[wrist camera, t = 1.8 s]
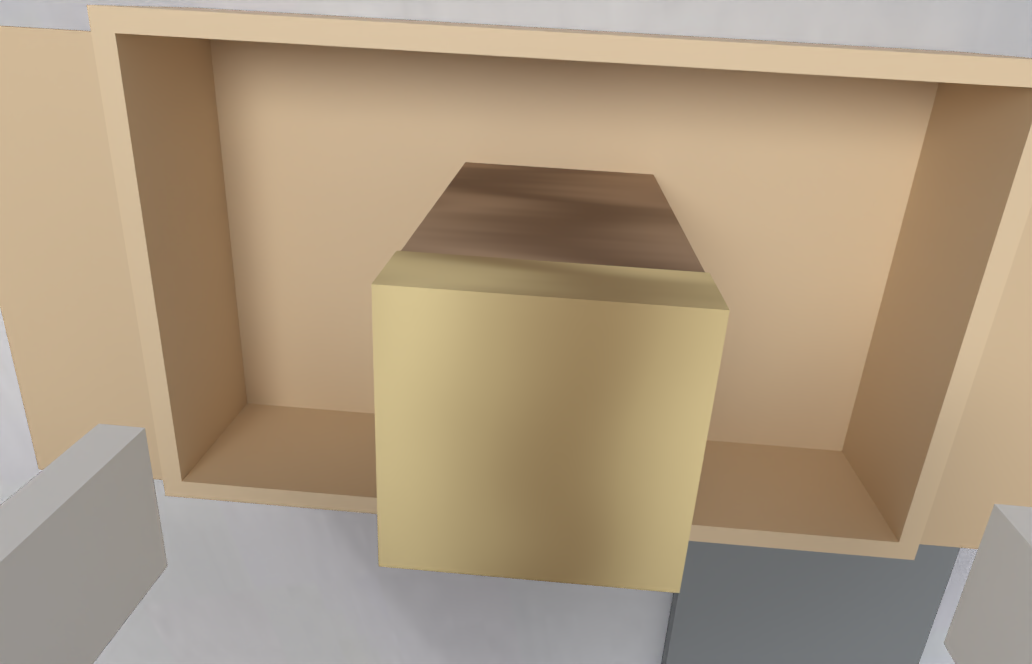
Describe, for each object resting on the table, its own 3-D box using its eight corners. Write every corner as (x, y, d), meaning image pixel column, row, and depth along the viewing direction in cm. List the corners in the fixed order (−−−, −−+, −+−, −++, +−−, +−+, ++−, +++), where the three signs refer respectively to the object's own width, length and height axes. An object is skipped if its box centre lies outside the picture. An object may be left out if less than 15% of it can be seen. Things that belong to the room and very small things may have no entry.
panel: (655, 698, 33) (657, 713, 32) (687, 511, 29) (691, 524, 28) (885, 719, 32) (892, 736, 32) (950, 534, 28) (960, 547, 28)
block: (459, 334, 26) (378, 566, 15) (463, 160, 24) (370, 284, 13) (632, 348, 26) (679, 592, 15) (655, 172, 23) (729, 310, 12)
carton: (135, 402, 29) (42, 485, 24) (67, 0, 23) (-74, -5, 18) (961, 469, 27) (1050, 571, 22) (1100, 59, 22) (1261, 72, 17)
